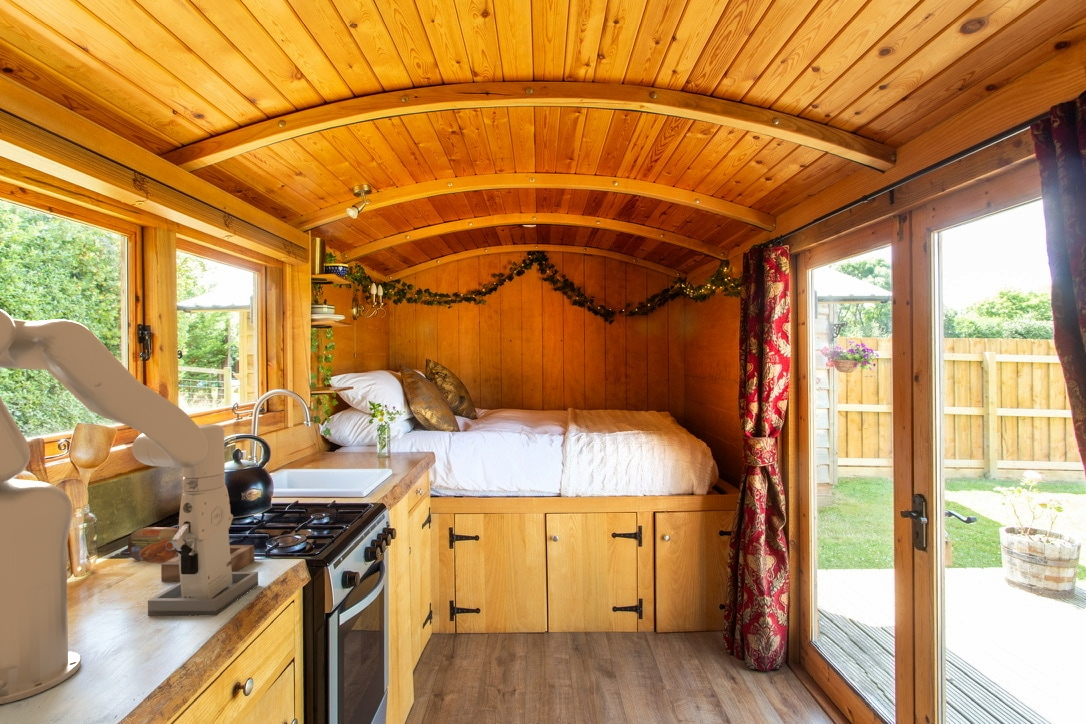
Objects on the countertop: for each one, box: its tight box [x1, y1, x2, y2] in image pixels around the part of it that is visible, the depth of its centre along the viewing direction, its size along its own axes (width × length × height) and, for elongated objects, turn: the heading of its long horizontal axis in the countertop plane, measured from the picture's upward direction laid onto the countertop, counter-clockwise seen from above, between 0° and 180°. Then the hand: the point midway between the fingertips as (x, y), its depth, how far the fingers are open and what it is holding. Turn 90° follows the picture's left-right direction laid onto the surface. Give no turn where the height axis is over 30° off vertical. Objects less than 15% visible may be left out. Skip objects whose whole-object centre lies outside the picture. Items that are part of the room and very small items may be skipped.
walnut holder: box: [160, 544, 255, 582], centre depth 124 cm, size 12×14×4 cm
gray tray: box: [147, 571, 259, 617], centre depth 109 cm, size 14×14×3 cm
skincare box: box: [176, 524, 232, 598], centre depth 109 cm, size 8×6×15 cm
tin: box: [127, 526, 179, 563], centre depth 132 cm, size 15×3×8 cm, turn 82°
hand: (205, 564), depth 109 cm, fingers closed on skincare box, 8 cm apart
